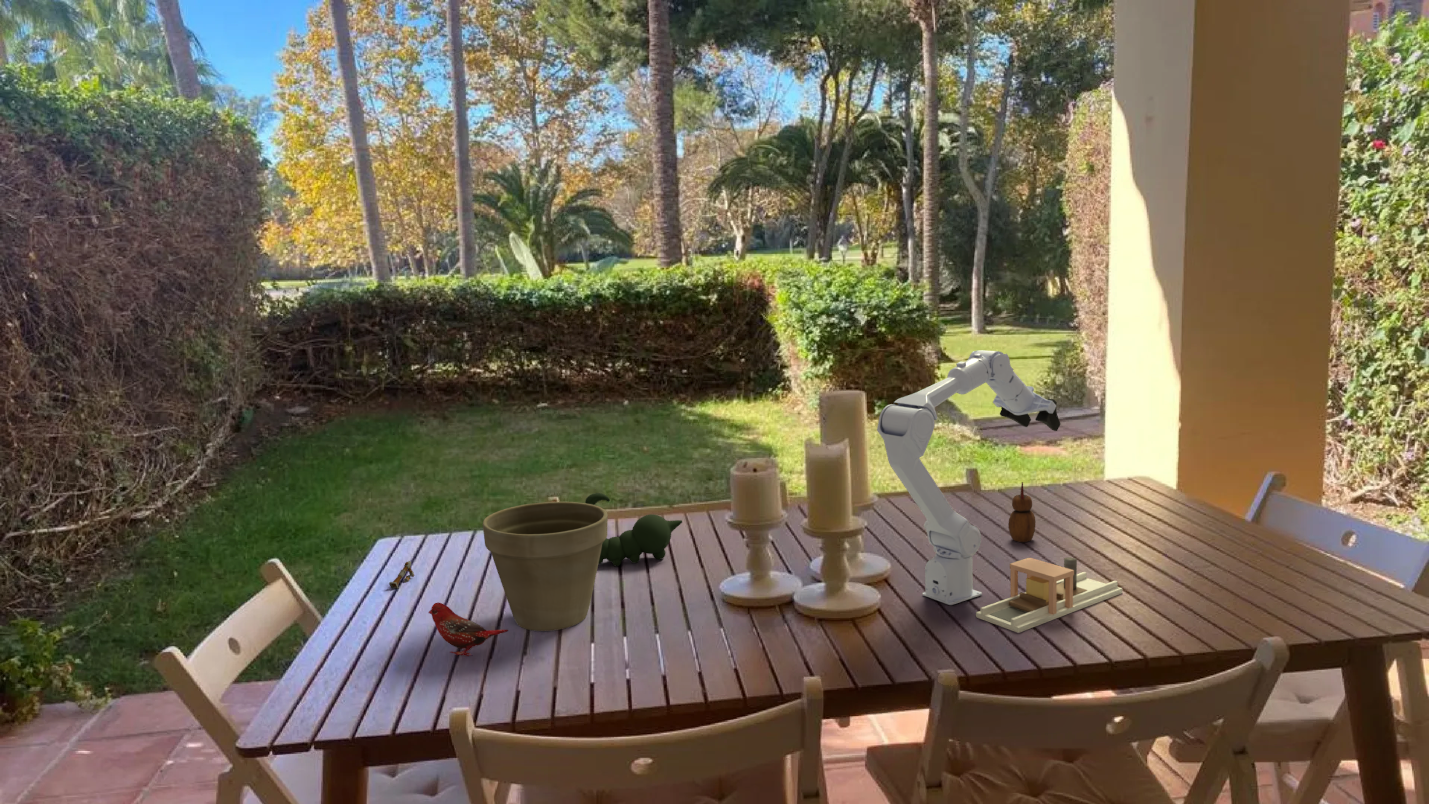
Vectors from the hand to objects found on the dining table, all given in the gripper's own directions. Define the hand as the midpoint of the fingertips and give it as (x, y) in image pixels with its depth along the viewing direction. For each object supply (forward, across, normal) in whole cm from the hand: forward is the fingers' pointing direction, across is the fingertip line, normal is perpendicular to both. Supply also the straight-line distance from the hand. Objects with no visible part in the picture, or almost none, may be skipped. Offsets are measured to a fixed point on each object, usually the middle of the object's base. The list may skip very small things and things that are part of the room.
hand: (1042, 425), depth 202 cm
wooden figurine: (+30, +15, +16) cm, 38 cm away
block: (+4, -16, +36) cm, 40 cm away
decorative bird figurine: (-68, +35, +102) cm, 128 cm away
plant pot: (-53, +43, +89) cm, 112 cm away
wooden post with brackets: (-68, +87, +102) cm, 150 cm away
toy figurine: (-31, +65, +69) cm, 100 cm away
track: (+8, -16, +36) cm, 40 cm away
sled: (+7, -16, +35) cm, 39 cm away
